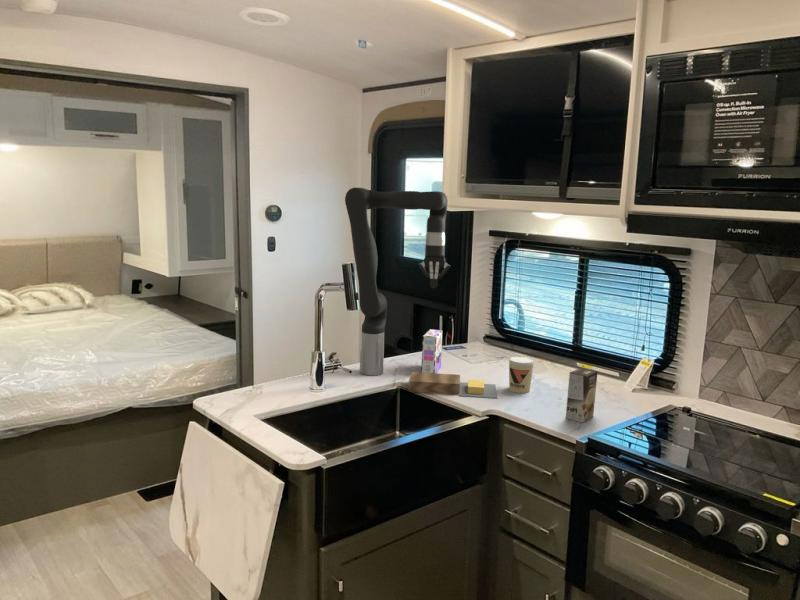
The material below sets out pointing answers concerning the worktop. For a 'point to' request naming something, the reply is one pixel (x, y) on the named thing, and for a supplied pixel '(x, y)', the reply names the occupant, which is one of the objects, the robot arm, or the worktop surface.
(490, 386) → the mat
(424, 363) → the candy box
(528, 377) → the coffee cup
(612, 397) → the worktop surface
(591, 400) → the coffee box
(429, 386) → the brown flat block
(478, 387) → the yellow rectangular block
